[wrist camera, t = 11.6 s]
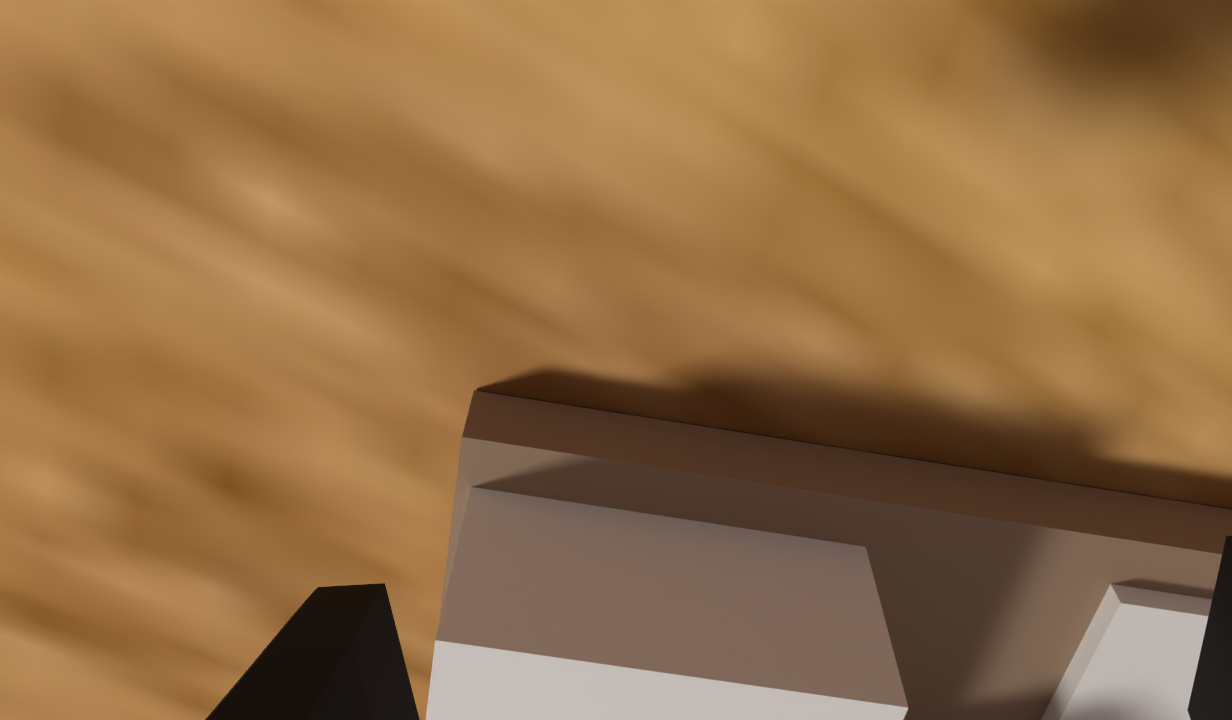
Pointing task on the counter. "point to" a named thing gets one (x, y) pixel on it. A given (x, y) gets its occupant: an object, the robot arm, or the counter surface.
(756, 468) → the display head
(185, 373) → the counter surface
